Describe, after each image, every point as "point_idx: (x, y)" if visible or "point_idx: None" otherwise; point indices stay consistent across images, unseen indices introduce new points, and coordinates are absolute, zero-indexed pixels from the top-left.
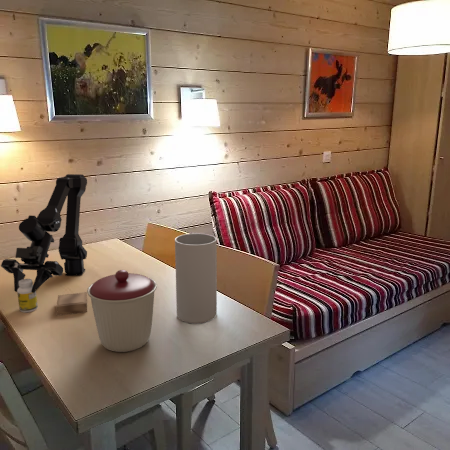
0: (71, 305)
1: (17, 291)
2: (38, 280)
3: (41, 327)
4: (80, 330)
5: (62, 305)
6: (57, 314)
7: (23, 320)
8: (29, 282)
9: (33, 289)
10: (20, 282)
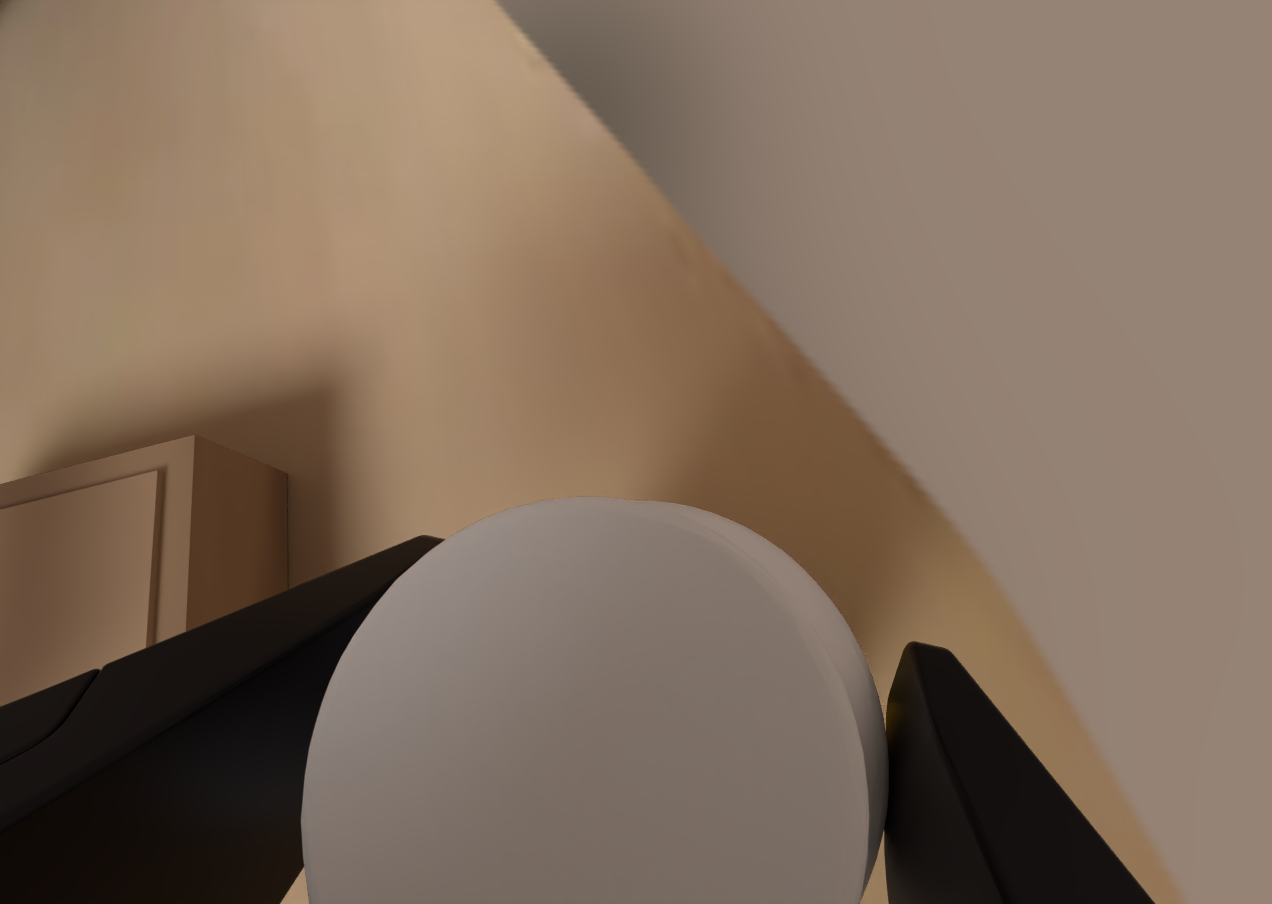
0: (21, 484)
1: (834, 605)
2: (38, 703)
3: (409, 221)
4: (87, 182)
5: (118, 469)
6: (274, 473)
7: (639, 365)
8: (376, 605)
9: (382, 553)
10: (723, 600)
